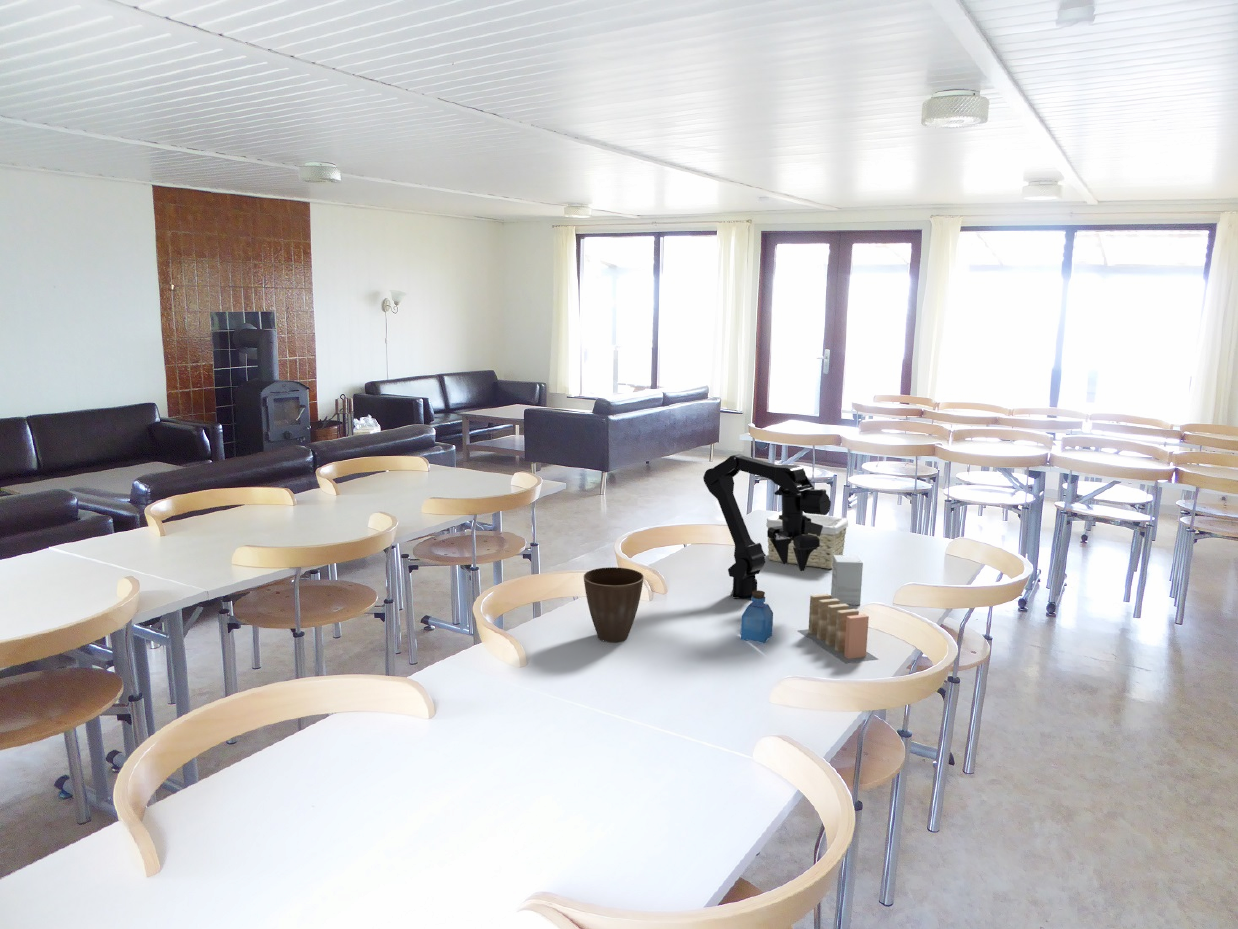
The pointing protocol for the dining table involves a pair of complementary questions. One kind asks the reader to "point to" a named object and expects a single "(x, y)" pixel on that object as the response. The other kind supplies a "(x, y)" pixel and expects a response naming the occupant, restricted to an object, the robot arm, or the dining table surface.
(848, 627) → the domino
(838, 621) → the domino
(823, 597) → the domino
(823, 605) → the domino
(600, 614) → the plant pot
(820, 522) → the storage basket
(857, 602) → the supplement box
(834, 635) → the domino
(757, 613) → the perfume bottle
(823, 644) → the mat
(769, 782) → the dining table surface
